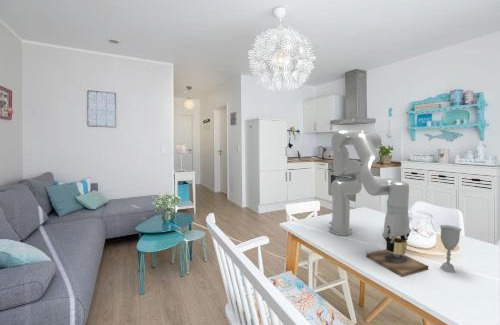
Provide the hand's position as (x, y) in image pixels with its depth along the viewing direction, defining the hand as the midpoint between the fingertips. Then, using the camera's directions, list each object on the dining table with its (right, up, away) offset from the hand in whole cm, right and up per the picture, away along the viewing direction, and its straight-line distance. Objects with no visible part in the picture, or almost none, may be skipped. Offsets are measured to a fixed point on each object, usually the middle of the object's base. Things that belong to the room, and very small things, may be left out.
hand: (396, 249), depth 108 cm
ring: (0, -1, 0) cm, 1 cm away
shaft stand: (0, -6, +1) cm, 6 cm away
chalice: (+18, -7, -6) cm, 20 cm away
